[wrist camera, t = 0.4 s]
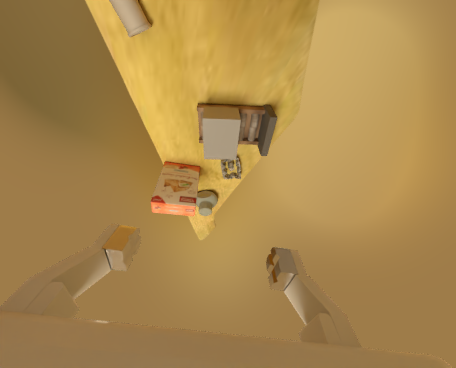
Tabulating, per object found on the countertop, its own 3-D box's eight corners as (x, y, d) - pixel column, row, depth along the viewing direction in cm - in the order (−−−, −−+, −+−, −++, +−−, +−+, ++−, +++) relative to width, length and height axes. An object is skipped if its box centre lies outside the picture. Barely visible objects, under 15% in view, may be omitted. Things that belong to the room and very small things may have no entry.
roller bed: (200, 139, 61) (198, 154, 55) (197, 101, 52) (195, 114, 46) (261, 141, 63) (266, 155, 57) (270, 105, 54) (277, 117, 48)
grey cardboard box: (205, 144, 59) (204, 159, 53) (203, 106, 50) (202, 118, 44) (234, 145, 60) (236, 159, 54) (237, 107, 51) (240, 119, 45)
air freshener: (196, 201, 86) (195, 218, 79) (192, 190, 80) (190, 208, 73) (218, 199, 86) (218, 216, 79) (216, 188, 80) (216, 205, 73)
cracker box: (200, 165, 70) (196, 206, 55) (198, 176, 74) (194, 217, 59) (164, 160, 67) (150, 202, 52) (164, 171, 71) (151, 213, 56)
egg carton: (240, 173, 74) (241, 180, 71) (223, 175, 75) (223, 182, 72) (239, 153, 67) (240, 159, 64) (219, 155, 67) (220, 162, 64)
